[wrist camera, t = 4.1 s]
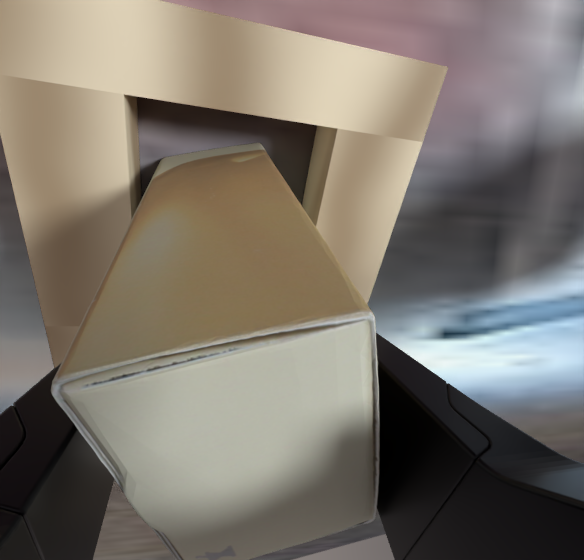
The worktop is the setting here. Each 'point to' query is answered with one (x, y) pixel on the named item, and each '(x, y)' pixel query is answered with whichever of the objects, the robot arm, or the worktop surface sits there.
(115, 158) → the frame
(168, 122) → the worktop surface
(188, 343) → the skincare box
